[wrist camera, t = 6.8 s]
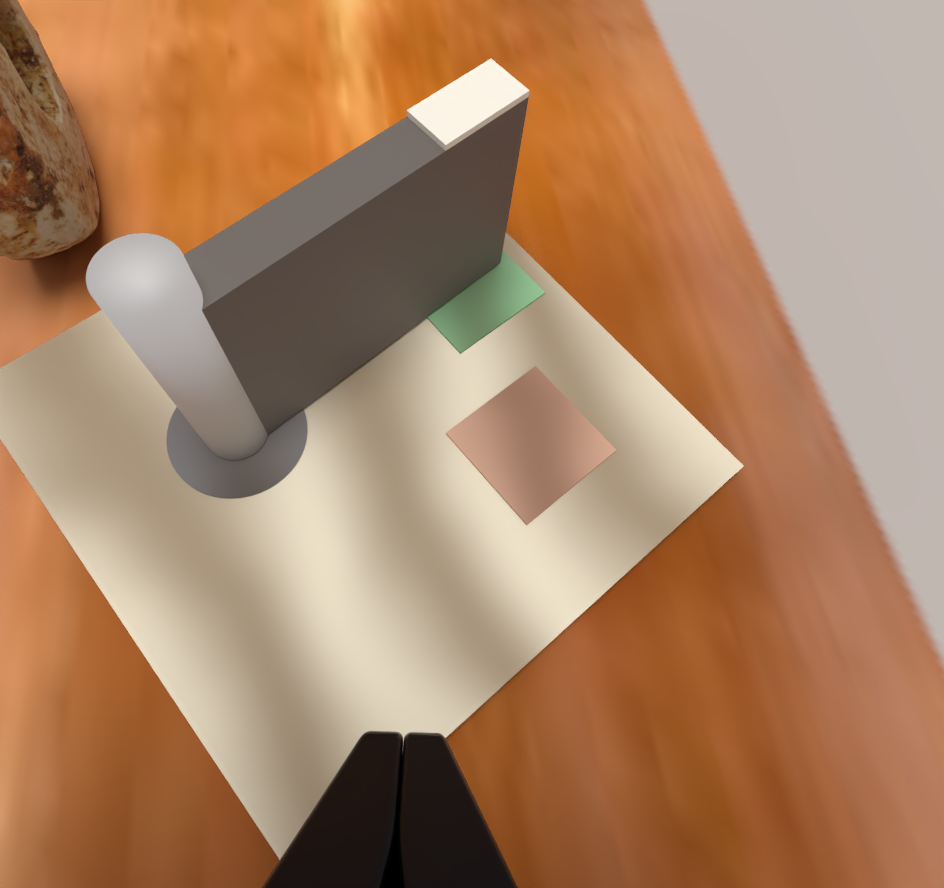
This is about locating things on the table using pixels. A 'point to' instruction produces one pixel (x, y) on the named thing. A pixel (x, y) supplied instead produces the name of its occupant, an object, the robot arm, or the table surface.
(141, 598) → the cream square board
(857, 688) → the table surface
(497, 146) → the grey upright slab
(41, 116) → the stone disc
